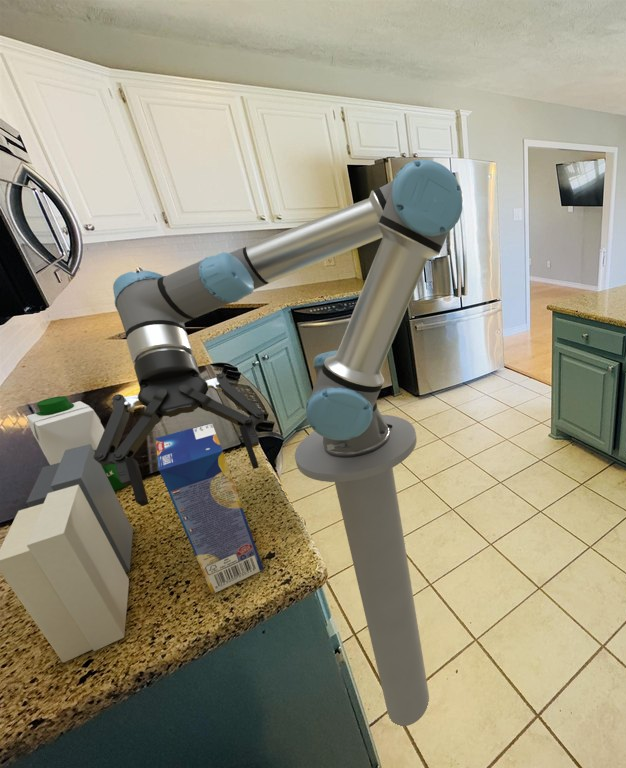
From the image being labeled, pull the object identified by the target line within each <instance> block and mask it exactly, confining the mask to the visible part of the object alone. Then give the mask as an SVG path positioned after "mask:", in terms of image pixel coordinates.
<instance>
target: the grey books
mask: <svg viewBox="0 0 626 768" xmlns="http://www.w3.org/2000/svg"><path fill="white" fill-rule="evenodd" d="M94 454H95V451H94V449H93V447H92V445H91V444H88V445H84V446H80V447H76V448H72V449H68V450H65V452H64V455H63V457H62V459H61V462H60V463H56V464H53V465H50V464H49V465H46V466H42V468H41V470H40V472H39V474H38V476H37V479H36V481H35V483H34V485H33V488H32V489H31V491H30V493H29V495H28V498H27V500H26V502H25V504H26V505H27V506H28V507H27V508H30V507H33V506H36V505H40V504H43V503H44V501H45V499H46V496H47V494H48V493H51V492H54V491H58V490H61V489H65V488H68V487H72V486H75V485H79V486H80V488H81V490H82V492H83V494H84V496H85V498H86V499H87V501H88V503H89V505H90V507H91V509H92V511H93V513H94V515H95V516H96V518H97V520H98V522H99V524H100V526H101V528H102V530H103V532H104V533H105V535H106V537H107V539H108V541H109V543H110V545H111V547H112V549H113V550H114V552H115V554H116V556H117V558H118V560H119V562H120V564H121V565H122V567H123V569H124V571H125V573H126V574H127V573H130V571H131V563H132V550H133V539H134V538H133V536H134V528H133V526H132V524H131V521H130V520H129V519H128V516H127V515H126V513H125V511H124V510H125V509H123V507H122V504H121V502H120V500H119V498H118V496H117V494H116V491H114V490H113V488H112V486H111V484H110V482H109V480H108V478H107V476H106V474H105V472H104V470H103V468H102V466H101V464H100V463H99V462H97V461H96V460H95V459H94V458H93V457H94Z"/></svg>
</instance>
